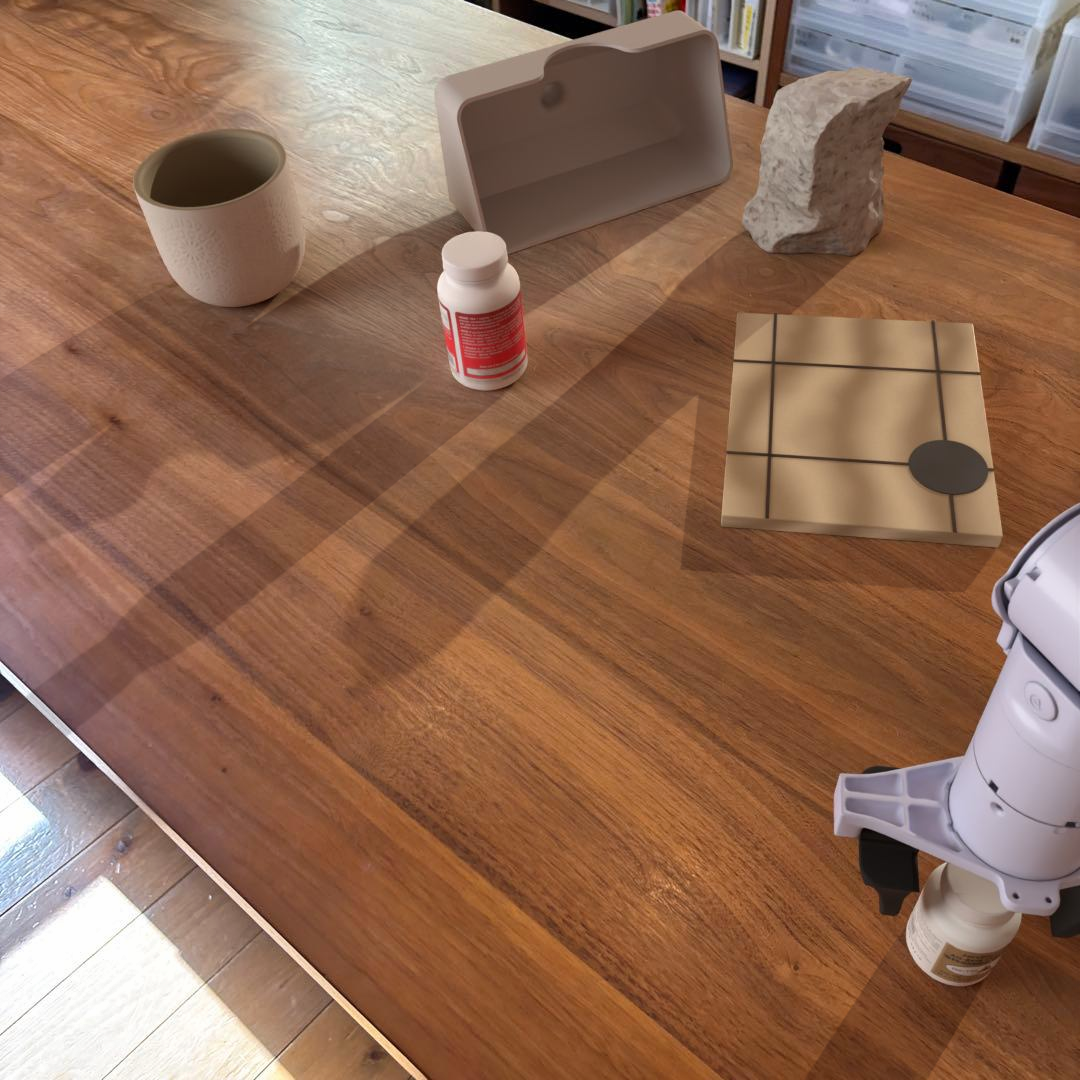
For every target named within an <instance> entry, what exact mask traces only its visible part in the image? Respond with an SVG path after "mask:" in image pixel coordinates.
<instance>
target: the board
mask: <svg viewBox="0 0 1080 1080" xmlns="http://www.w3.org/2000/svg"><path fill="white" fill-rule="evenodd" d="M735 322H736V323H735V325H736V326H735V336H734V337H735V338H734V339H735V340H734V348H733V361H732V362H733V364H732V376H731V389H730V401H729V414H728V424H727V425H728V426H727V438H726V439H727V440H726V451H725V453H726V454H725V464H724V465H725V467H724V477H723V478H724V479H723V490H722V502H721V506H722V507H721V517H720V527H722V528H736V529H747V530H762V531H775V532H786V533H787V532H788V533H802V534H814V535H828V536H839V537H854V538H865V539H866V538H867V539H877V540H878V539H879V540H880V539H881V540H891V541H892V540H893V541H894V540H895V541H905V542H906V541H908V542H919V543H930V544H931V543H932V544H945V545H946V544H947V545H959V546H972V547H974V546H975V547H985V548H997V549H998V548H1000V545H1001V543H1002V540H1003V537H1004V535H1003V533H1004V532H1003V526H1002V521H1001V512H1000V505H999V499H998V492H997V485H996V484H997V483H996V478H995V468H994V464H993V463H994V462H993V456H992V455H993V454H992V449H991V441H990V435H989V427H988V420H987V415H986V406H985V400H984V398H985V397H984V393H983V392H984V391H983V386H982V378H981V375H982V373H981V371H980V364H979V357H978V349H977V343H976V336H975V328H974V323H971V322H970V323H969V322H952V321H951V322H948V321H935V320H931V321H930V320H929V321H928V320H926V321H925V320H904V319H883V318H882V319H881V318H861V317H844V316H843V317H841V316H840V317H839V316H819V315H799V314H796V315H795V314H778V313H777V312H775V313H754V312H753V313H752V312H737V314H736V321H735Z"/></svg>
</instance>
